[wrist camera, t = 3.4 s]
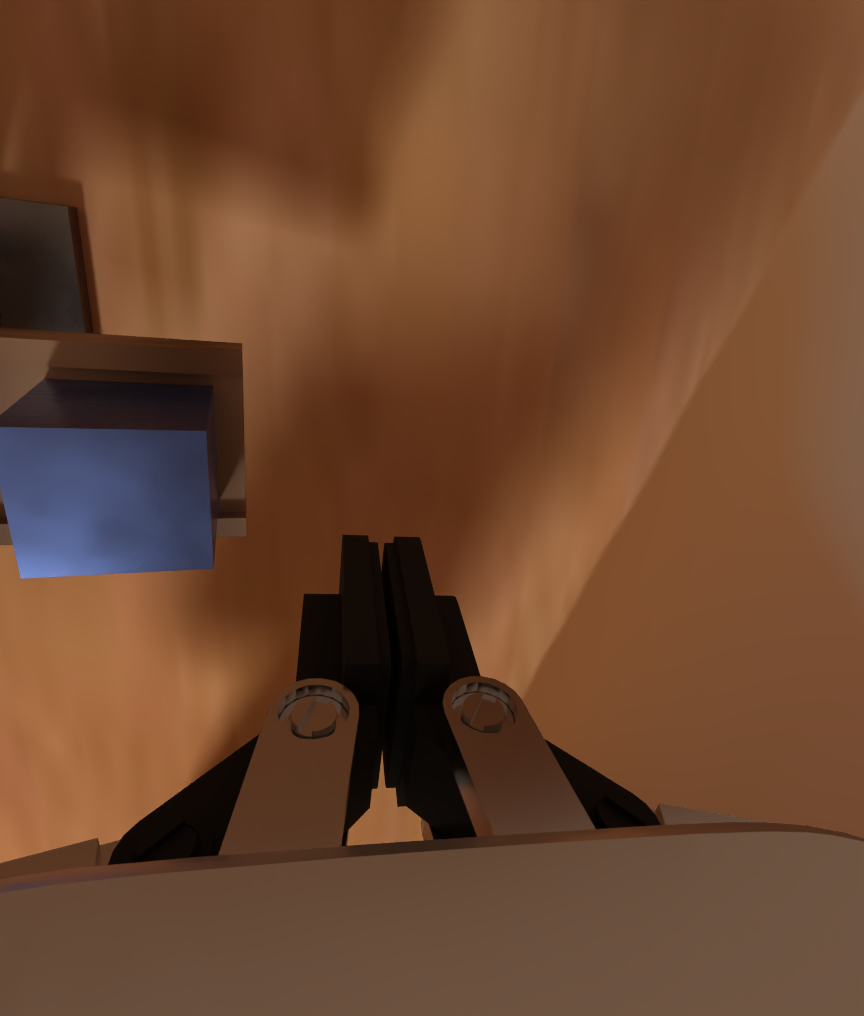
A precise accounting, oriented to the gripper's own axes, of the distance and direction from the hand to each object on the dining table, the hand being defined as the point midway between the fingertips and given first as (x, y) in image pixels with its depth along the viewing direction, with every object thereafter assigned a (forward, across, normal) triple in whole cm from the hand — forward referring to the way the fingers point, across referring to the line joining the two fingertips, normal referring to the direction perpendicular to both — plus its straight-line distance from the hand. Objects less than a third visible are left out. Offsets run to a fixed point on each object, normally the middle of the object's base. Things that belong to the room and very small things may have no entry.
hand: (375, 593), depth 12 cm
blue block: (+10, +8, +1) cm, 12 cm away
